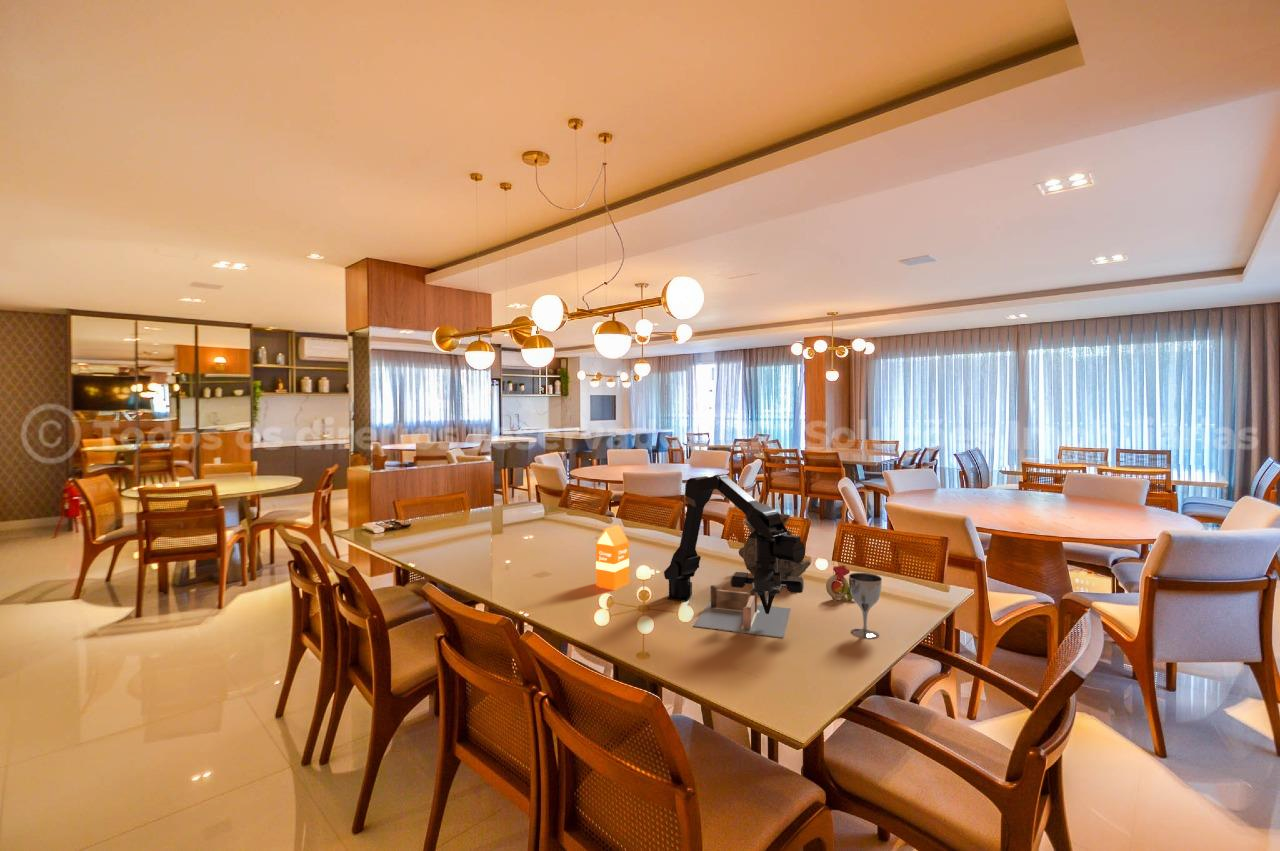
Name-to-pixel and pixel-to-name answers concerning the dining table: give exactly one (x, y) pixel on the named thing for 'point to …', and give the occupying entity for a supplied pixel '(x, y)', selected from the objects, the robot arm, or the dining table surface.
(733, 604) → the fixed fence
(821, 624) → the dining table surface
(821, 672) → the dining table surface
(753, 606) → the swing panel
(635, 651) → the dining table surface
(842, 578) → the bird rattle
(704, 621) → the card
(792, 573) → the clay pot
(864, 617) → the wine glass
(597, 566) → the orange juice
